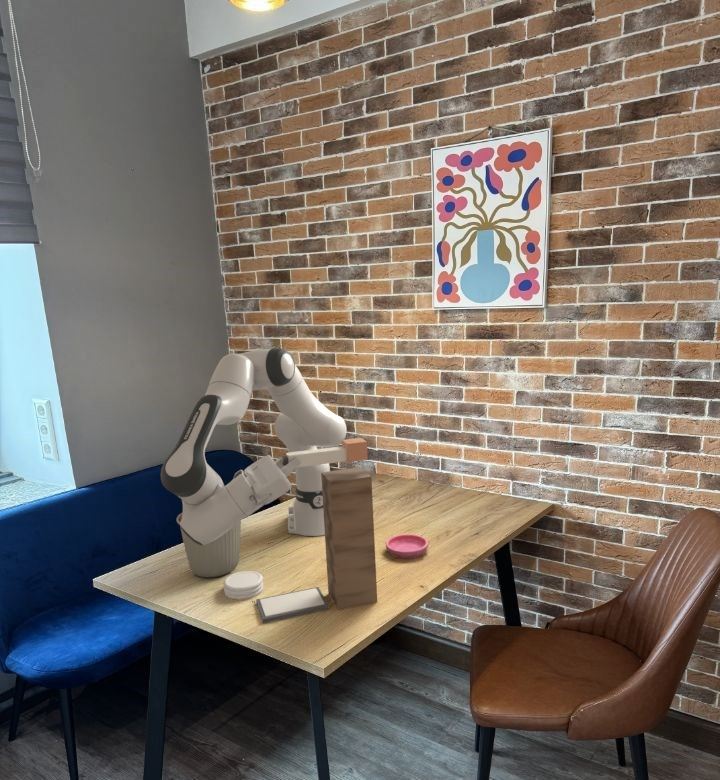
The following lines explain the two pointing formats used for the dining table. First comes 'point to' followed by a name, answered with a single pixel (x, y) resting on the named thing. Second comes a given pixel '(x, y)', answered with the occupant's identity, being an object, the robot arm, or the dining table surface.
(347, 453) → the marker
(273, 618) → the writing board
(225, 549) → the canister
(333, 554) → the walnut stand
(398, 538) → the saucer
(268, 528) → the dining table surface
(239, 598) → the coaster
